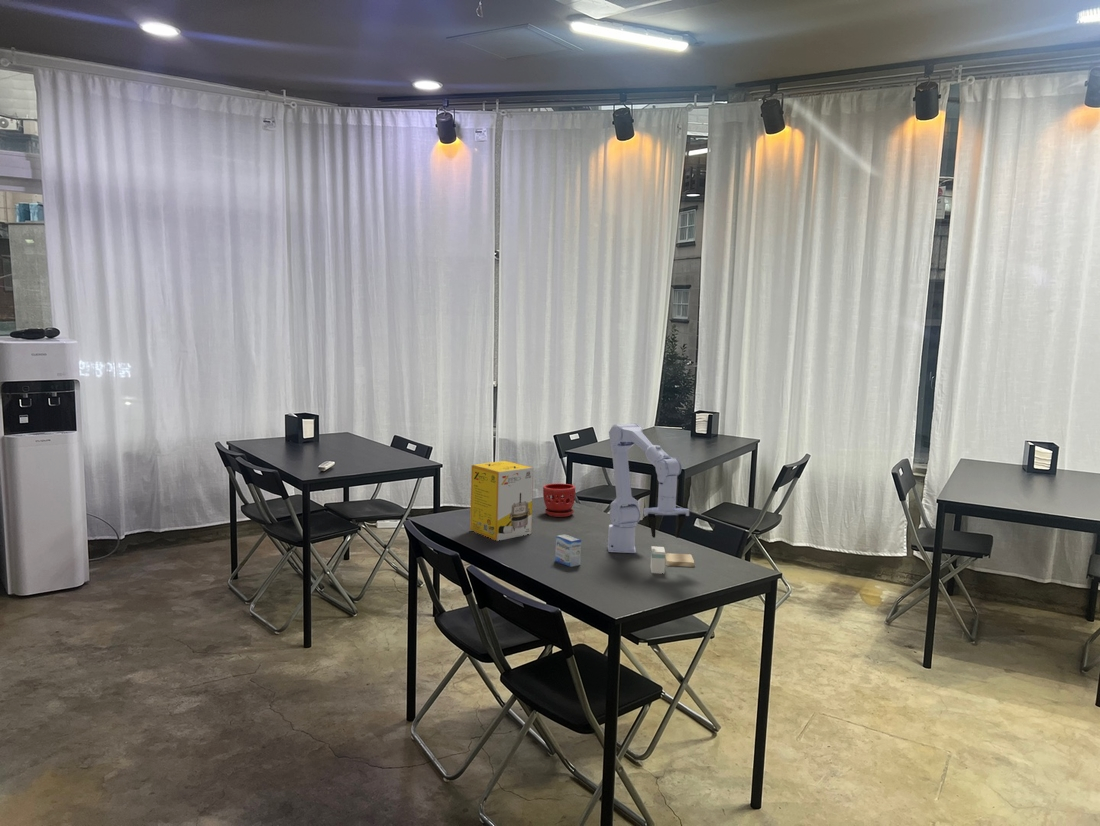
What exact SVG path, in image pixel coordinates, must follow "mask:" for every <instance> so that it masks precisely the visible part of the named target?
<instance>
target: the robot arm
mask: <svg viewBox="0 0 1100 826" xmlns="http://www.w3.org/2000/svg"><path fill="white" fill-rule="evenodd" d="M608 435H609V445H610V449H611V454H612V457H611V458H612V464H613V474H614V475H613V477H614V487H615V493H616V494H615V496H616V497H615V498H614V500H612V502H611V503H610V505H609V506H610V509H609V511H610V512H609V519H610V521H611V523H612V524H611V523H610V524H608V536H607V538H608V539H607V544H606V545H607V551H608V553H624V554H627V553H628V554H636V553H637V551H636V546H635V544H636V543H635V540H636V539H635V538H636V526H638V523H639V522H640V521H641V518H642V512H641V509H640V506H639V501H638V500H637V499H635V497H633V496H632V495H633V494H632V487H631V485H632V484H631V476H630V475H631V474H630V468H629V467H630V465H629V456H628V455H629V454H628V452H629V450H630V448H632V447H633V446H634V445H636V446H637V447H638V448H640V449H641V450H642V451H643V452H645V458H646V459H647V461H648V462H649V463H651V464H652V465H653V467H655V473H656V476H657V481H658V493H657V494H658V495H657V496H658V497H657V507H644V508H643V515H644V516H646V519H647V521H648V523H649V528H650V532H651V537H652V538H653V539H655V538H656V527H657V525H656V524H657V521H658V520H657V516H675V530H674V537H675V538H676V539H677V538H678V539H679V537H680V534H681V530H682V528H683V525H684V524H685V523H686V521H687V517H689V516H690V509H688V508H681V507H677V489H678V488H677V487H678V486H677V485H678V477H679V475H681V473H682V464H681V461H680V460H679V459H678V457H672V456H670V455H669V454H668V453H667V452H666V451H665V450H663V448H662V446H661V445H659V444H658V445H657V444H652V441H650V440H649V439H648V437H647V436H646V434H644V430H643V428H642V427H641V426H640V425H639V424H638V423H628V424H627V423H626V424H613V425H612V426H611V428H610V429H609V431H608Z"/></svg>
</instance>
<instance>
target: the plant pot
mask: <svg viewBox="0 0 1100 826" xmlns="http://www.w3.org/2000/svg"><path fill="white" fill-rule="evenodd" d="M542 496H543V502H544V505H545V507H546V508H545V509H544V512H545V513H546V515H548V516H549V517H556V518H558V517H559V518H564V517H570V516H571V515H573V513H574V511H575V510H574V509H573V506H574V503H575V498H576V486H575V485H573V484H568V483H550V484H545V485H543V487H542Z"/></svg>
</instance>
